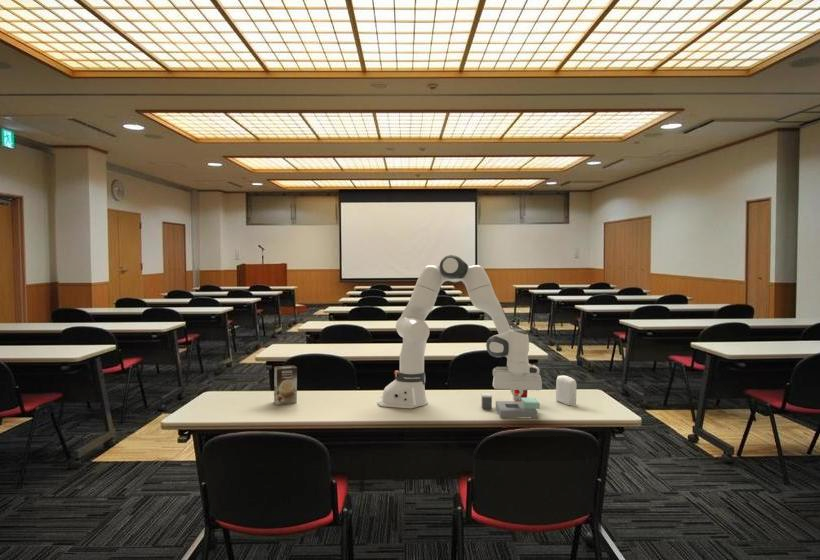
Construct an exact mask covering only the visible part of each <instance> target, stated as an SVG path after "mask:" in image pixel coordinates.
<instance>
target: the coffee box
mask: <svg viewBox="0 0 820 560" xmlns="http://www.w3.org/2000/svg"><path fill="white" fill-rule="evenodd" d="M273 376H274V377H273V378H274V379H273V381H274V382H273V383H274V386H273V387H274V391H273V402H274V403H275V404H276V406H277V405H278V406H279V405H287V404H288V405H289V404H297V402H298V401H297V399H298V398H297V397H298V396H297V395H298V394H297V393H298V389H297V388H298V367H297V366H296V365H281V366H280V365H278V366H274V375H273Z"/></svg>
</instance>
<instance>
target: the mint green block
mask: <svg viewBox="0 0 820 560" xmlns="http://www.w3.org/2000/svg"><path fill="white" fill-rule="evenodd" d="M521 404H522V405H523V407H524V408H525V409H536V410H540V402H539V401H538V399H537V397H527V398H521Z"/></svg>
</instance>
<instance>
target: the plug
mask: <svg viewBox="0 0 820 560" xmlns="http://www.w3.org/2000/svg"><path fill="white" fill-rule="evenodd" d="M492 403H493V396H492V393H491V392H481V402H480V404H481V406H482V407H481V409H482V408H483V409H482V410H492V409H493V408H492V407H493V404H492ZM484 408H485V409H484Z"/></svg>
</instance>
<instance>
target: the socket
mask: <svg viewBox="0 0 820 560" xmlns="http://www.w3.org/2000/svg"><path fill="white" fill-rule="evenodd" d="M496 409H497V410H496ZM495 410H496V412H497V411H498V412H497V414H498V416H499V418H500V417H508V418H507V419H518V418H517V417H531V418H530V419H538V409H525V408H524V407H523V405H522V404H521V401H515V400H513V401H512V400H511V401H509V400H495ZM509 417H511V418H509Z"/></svg>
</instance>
